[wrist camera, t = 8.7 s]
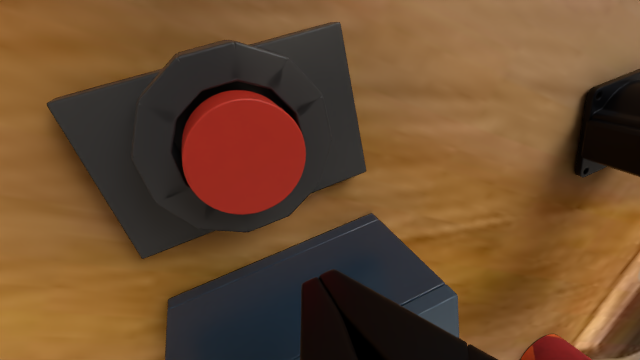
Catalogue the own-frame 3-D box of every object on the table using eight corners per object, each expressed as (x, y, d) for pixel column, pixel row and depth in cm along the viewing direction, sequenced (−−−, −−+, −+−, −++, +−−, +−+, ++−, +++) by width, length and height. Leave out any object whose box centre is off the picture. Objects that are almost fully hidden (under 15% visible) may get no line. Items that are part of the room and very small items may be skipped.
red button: (275, 75, 12) (289, 82, 11) (302, 173, 14) (317, 190, 12) (161, 109, 11) (158, 122, 10) (207, 209, 13) (210, 232, 12)
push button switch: (329, 10, 14) (361, 6, 12) (358, 164, 18) (387, 187, 15) (46, 85, 12) (9, 101, 9) (144, 247, 15) (136, 290, 13)
